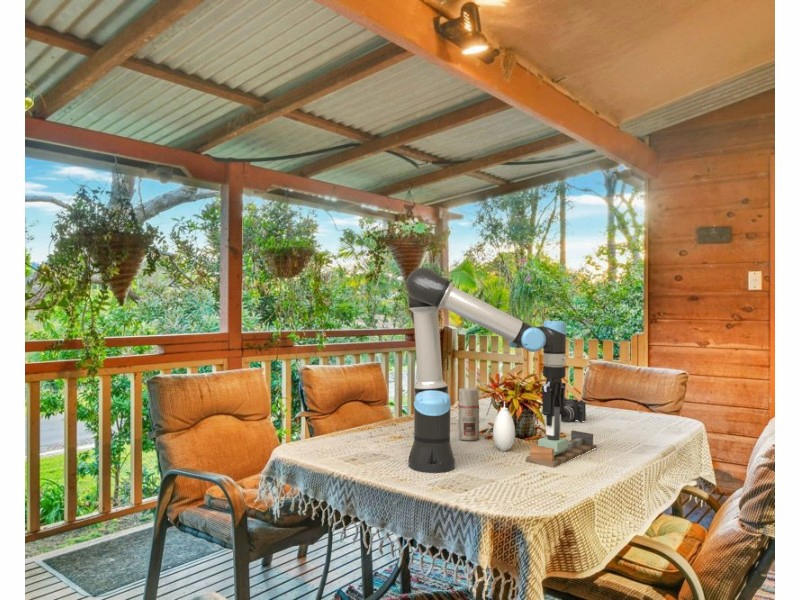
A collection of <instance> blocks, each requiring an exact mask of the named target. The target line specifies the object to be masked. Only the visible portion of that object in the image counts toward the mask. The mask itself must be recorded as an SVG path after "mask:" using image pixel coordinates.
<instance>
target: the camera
mask: <svg viewBox="0 0 800 600" xmlns="http://www.w3.org/2000/svg"><path fill="white" fill-rule="evenodd" d="M586 407H587V406H586V401H584V400H583V399H580V400H578V399H577V398H576V399H575V398H570V399H569V398H567V397H565V404H564V411H562V412H564V414H561V422H565V421H567V422H572V421H571V420H578V421H585V422H586V420H587V417H586V416H587V414H586V413H587V411H586Z"/></svg>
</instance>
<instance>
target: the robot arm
mask: <svg viewBox="0 0 800 600" xmlns="http://www.w3.org/2000/svg"><path fill="white" fill-rule="evenodd" d="M405 288H406V291H407V302H408V303H407V304H408V310H409V311H411V312H412V313H413V325H414V339H415V340H414V341H415V351H416V352H415V353H416V366H417V368H416V369H417V383H416V384H415V385H414V387H413V388H414V401H413V406H414V415H413V416H414V418H413V419H414V422H413V424H414V425H413V429H414V430H413V442H412V446H411V449H410V452H409V455H408V459H407V460H408V461H407V466H408V467H409V468H410V469H412V470H414V471H417V472H418V471H419V472H423V473H444V472H449V471H452V470H454V469H455V468H456V458H455V457H454V456H455V455H454V453H453V448H452V444H451V407H452V401H451V396H450V395H449V389H448V385H449V384H448V383H446V381H444V380H443V376H444V375H443V364H442V363H443V362H442V351H441V350H442V349H441V336H440V321H439V320H440V319H439V310H441V309H442V308H443V309H446V310H448V311H449V312H452V313H454V314H455V315H458V316H460V317H462V318H463V319H465V320H467V321H470V322H472V323H474V324H476V325H478V326H479V327H482V328H483V329H486V330H487V331H490V332H491V333H493V334H495V335H498V336H500V337H502V338H504V339H505V340H507V343H508V346H509V347H510V348H515V349H525V350H526V351H529V352H531V353H534V352H539V351H541V350H543V353H542V365H543V366H542V376H543V377H544V378H546V381H545V385H541V391H542V415H543V416H545V417H546V418H545V422H546V423H545V435H546V436H547V435H551V436H554V430H555V416H553V413H554V406H558V407H560V431H559V435H560V434H561V432H562V431H561V430H562V423H561V422H562V420H561V414H564V412H562V411H564V404H565V396H566V394H565V393H566V392H565V391H566V385H567V383H566V382H563V380H562V379H564V378H566V375H567V373H566V371H567V370H566V366H565V365H566V361H567V355H566V347H567V346H566V345H567V325H566V322H565V321H562V320H544V321H543V325H541V326H539V325H538V326H534V325H533V326H532V325H530V324H529V323H527V322H525V321H523V320H521V319H519V318H517V317H515V316H513V315H510V314H509V313H507V312H505V311H503V310H501V309H499V308H497V307H495V306H493V305H491V304H489V303H487V302H485V301H483V300H481V299H479V298H477V297H475V296H473V295H472V294H469V293H467V292H465V291H463V290H462V289H459V288H457V287H455V286H454V284H453V282H452V281H450V280H448V279H447V278H444V276H442V275H440V274H439V273H437V271H434V270H433V269H432V268H429V267H417V268H415V269H413V270H412V271H411V272H410V273H409V274H408V276H407V278H406V281H405Z"/></svg>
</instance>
